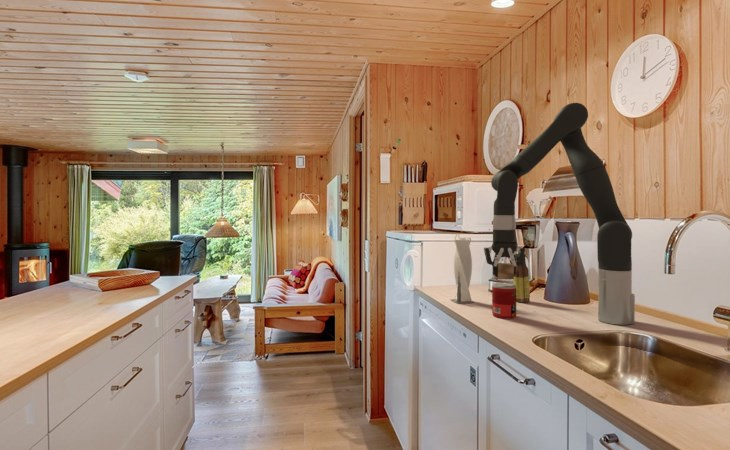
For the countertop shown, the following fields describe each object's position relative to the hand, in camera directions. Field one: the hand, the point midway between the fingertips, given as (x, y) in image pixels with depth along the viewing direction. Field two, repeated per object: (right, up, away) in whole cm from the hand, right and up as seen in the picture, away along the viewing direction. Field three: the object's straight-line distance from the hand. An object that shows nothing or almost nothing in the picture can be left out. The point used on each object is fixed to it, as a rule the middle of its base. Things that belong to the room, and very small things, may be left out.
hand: (504, 276), depth 135 cm
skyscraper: (-8, -14, +25) cm, 29 cm away
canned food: (0, -14, 0) cm, 14 cm away
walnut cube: (0, 0, 0) cm, 0 cm away
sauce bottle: (+15, -14, +23) cm, 31 cm away
